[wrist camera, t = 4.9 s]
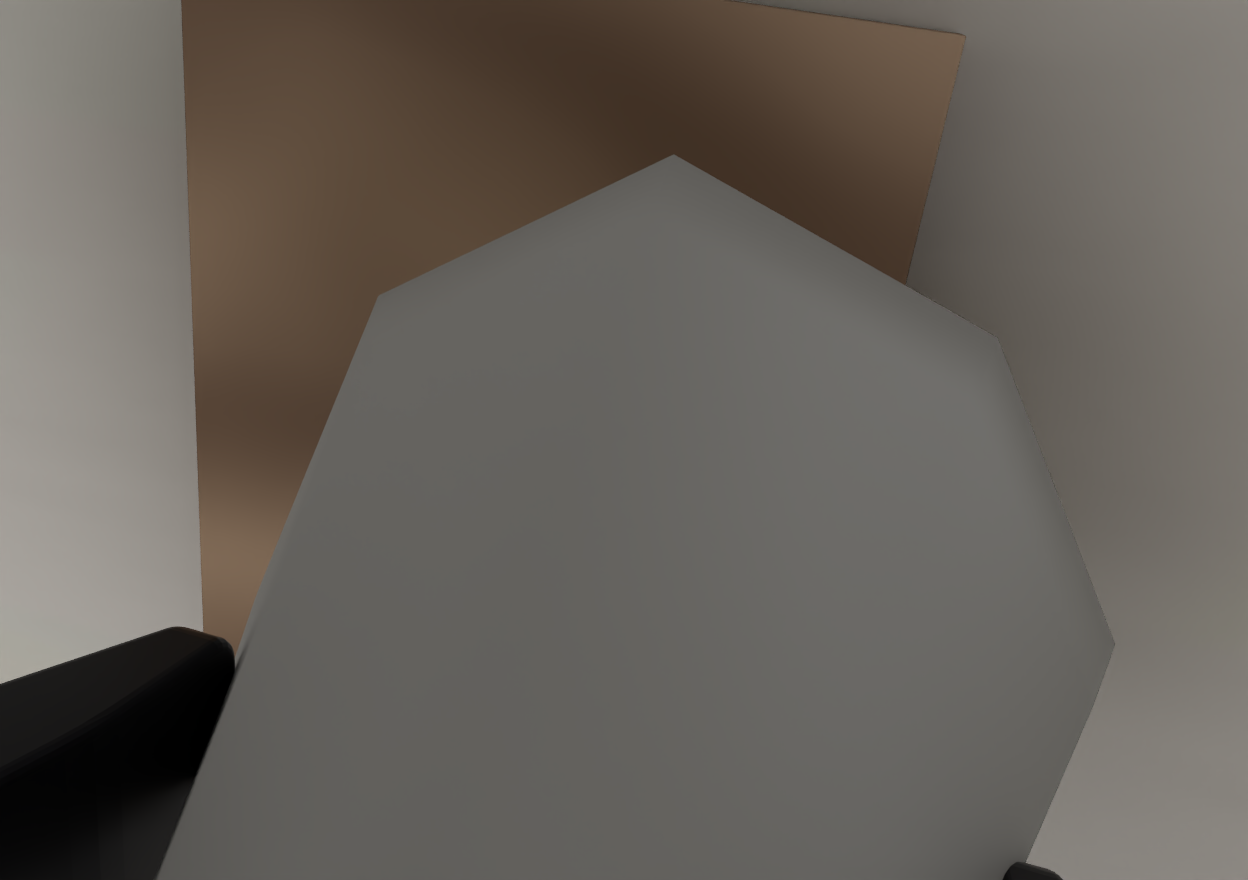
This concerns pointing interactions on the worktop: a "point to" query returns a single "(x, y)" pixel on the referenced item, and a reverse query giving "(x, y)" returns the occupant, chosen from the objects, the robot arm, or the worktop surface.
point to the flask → (657, 578)
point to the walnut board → (486, 179)
